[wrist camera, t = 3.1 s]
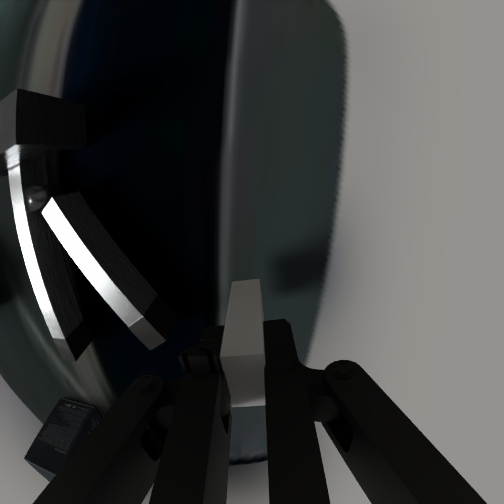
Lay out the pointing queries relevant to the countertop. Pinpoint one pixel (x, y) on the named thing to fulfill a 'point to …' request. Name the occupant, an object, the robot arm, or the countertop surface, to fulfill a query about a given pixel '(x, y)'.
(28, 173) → the tongs fixed
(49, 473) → the box
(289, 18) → the countertop surface
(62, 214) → the tongs jaw
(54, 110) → the collar
